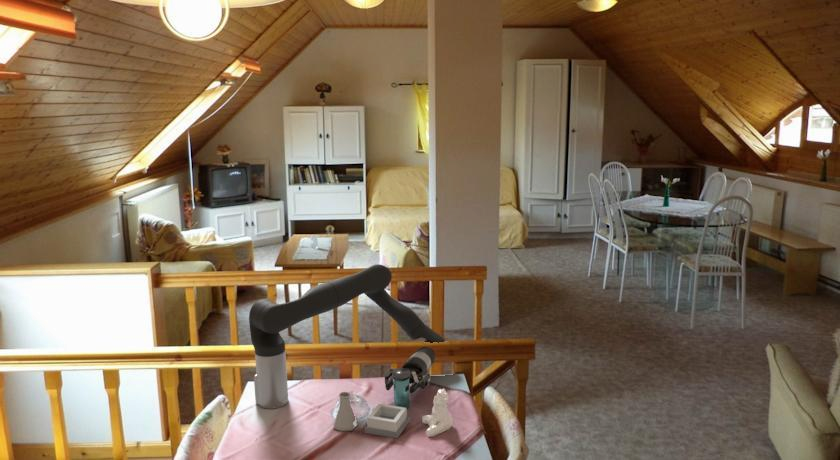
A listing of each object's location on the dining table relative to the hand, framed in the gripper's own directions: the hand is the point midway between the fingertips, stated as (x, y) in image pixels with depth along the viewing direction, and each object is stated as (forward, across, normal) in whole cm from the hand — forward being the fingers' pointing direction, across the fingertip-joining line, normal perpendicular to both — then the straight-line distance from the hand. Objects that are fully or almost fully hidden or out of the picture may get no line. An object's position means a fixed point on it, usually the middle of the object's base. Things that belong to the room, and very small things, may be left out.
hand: (399, 389), depth 191 cm
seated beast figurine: (+6, +14, +8) cm, 17 cm away
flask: (+13, -12, +8) cm, 19 cm away
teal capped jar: (-2, 0, +7) cm, 8 cm away
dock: (+10, 0, +7) cm, 12 cm away
